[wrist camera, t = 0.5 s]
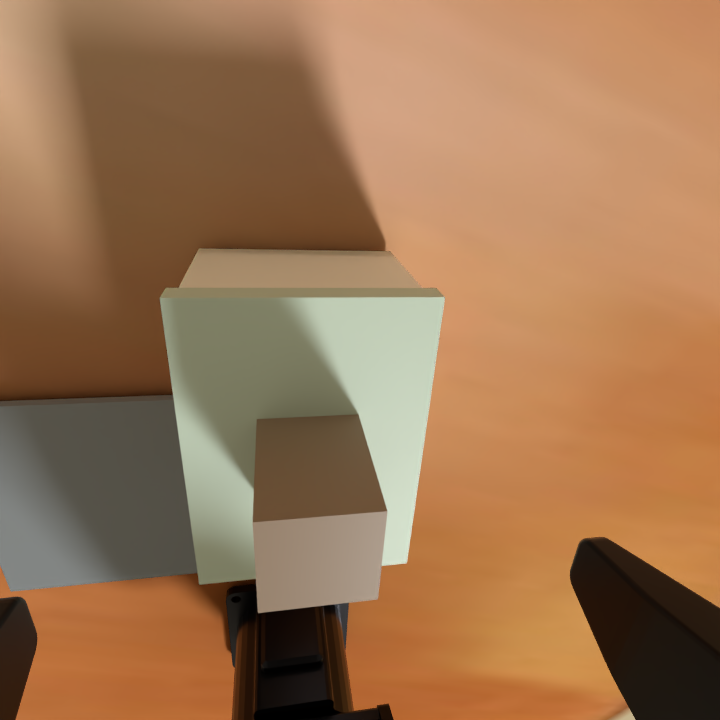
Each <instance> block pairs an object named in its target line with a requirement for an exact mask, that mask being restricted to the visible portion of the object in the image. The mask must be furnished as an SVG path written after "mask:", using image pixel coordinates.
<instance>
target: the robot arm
mask: <svg viewBox="0 0 720 720" xmlns="http://www.w3.org/2000/svg"><path fill="white" fill-rule="evenodd" d="M570 580H571V584H572V586H573V589H574V591H575V593H576V596H577V598H578V600H579V603H580V605H581V607H582V609H583V612H584V614H585V616H586V619H587V621H588V623H589V625H590V628H591V630H592V632H593V635H594V637H595V639H596V641H597V644H598V646H599V648H600V651H601V653H602V655H603V657H604V660H605V662H606V664H607V666H608V668H609V670H610V672H611V675H612V676H613V678H614V680H615V682H616V684H617V686H618V688H619V690H620V692H621V694H622V695H623V697H624V699H625V701H626V703H627V705H628V706H629V708H630V710H631V712H632V714H633V716H634V717H635V719H636V720H720V608H719V607H717V606H716V605H714V604H712V603H711V602H709V601H708V600H706V599H704V598H703V597H701V596H700V595H698V594H696V593H695V592H693V591H691V590H690V589H688V588H687V587H685V586H683V585H682V584H680V583H679V582H677V581H675V580H674V579H672V578H671V577H669V576H667V575H666V574H664V573H662V572H661V571H659V570H658V569H656V568H654V567H653V566H651V565H650V564H648V563H646V562H645V561H643V560H642V559H640V558H638V557H637V556H635V555H633V554H632V553H630V552H629V551H627V550H625V549H624V548H622V547H621V546H619V545H617V544H616V543H614V542H612V541H611V540H609V539H607V538H605V537H594V538H585V539H582V540H581V541H580V543H579V545H578V548H577V551H576V554H575V557H574V560H573V563H572V566H571V570H570ZM226 605H227V614H228V624H229V634H230V643H231V653H232V663H233V666H234V667H235V675H234V692H233V708H232V720H393V717H392V713H391V710H390V706H389V704H383V705H377V708H371V709H365V710H358V711H354V709H353V702H352V695H351V688H350V681H349V674H348V667H347V660H346V653H345V648H346V634H347V619H348V605H349V603H341V604H333V605H324V606H315V607H307V608H298V609H290V610H281V611H272V612H264V613H258V606H257V589H256V584H253V585H244V586H235V587H232V588H230V589H229V590H228V591H227V596H226ZM36 646H37V633H36V629H35V626H34V623H33V621H32V618H31V615H30V612H29V609H28V606H27V603H26V601H25V600H24V599H23V598H21V597H10V598H0V720H15V719H16V716H17V713H18V709H19V706H20V702H21V699H22V696H23V692H24V689H25V685H26V682H27V678H28V675H29V672H30V668H31V665H32V661H33V658H34V655H35V651H36Z"/></svg>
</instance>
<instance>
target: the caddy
mask: <svg viewBox="0 0 720 720" xmlns="http://www.w3.org/2000/svg"><path fill="white" fill-rule="evenodd" d="M179 288H422V287H421V285H420V284H419V283H418V282H417V281H416V280H415V279H414V278H413V276H412V275H411V274H410V273H409V272H408V271H407V270H406V269H405V267H404V266H403V265H402V264H401V263H400V262H399V261H398V260H397V258H396V257H395V256H394V255H393V254H392V253H391V252H390V251H338V250H271V249H205V248H199V249H198V251H197V253H196V255H195V257H194V259H193V261H192V263H191V265H190V266H189V268H188V270H187V272H186V274H185V276H184V278H183V280H182V282H181V284H180V286H179Z"/></svg>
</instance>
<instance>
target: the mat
mask: <svg viewBox="0 0 720 720" xmlns="http://www.w3.org/2000/svg"><path fill="white" fill-rule="evenodd" d="M0 566H1V568H2V571H3V573H4V576H5V578H6V581H7V583H8V586H9V588H10V591H21V590H31V589H41V588H51V587H62V586H72V585H82V584H92V583H102V582H112V581H122V580H132V579H142V578H152V577H162V576H172V575H183V574H193V573H198V572H197V565H196V558H195V550H194V543H193V536H192V529H191V522H190V514H189V507H188V500H187V493H186V485H185V478H184V471H183V464H182V456H181V449H180V442H179V435H178V427H177V420H176V413H175V406H174V398H173V395H155V396H127V397H99V398H72V399H44V400H16V401H0Z"/></svg>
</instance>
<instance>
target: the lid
mask: <svg viewBox="0 0 720 720" xmlns="http://www.w3.org/2000/svg"><path fill="white" fill-rule="evenodd" d="M444 301H445V297H444V296H443V295H442V294H441V293H440V292H439V291H438V289H437V288H165V290H164V291H163V293H162V295H161V296H160V304H161V312H162V319H163V326H164V333H165V341H166V348H167V355H168V362H169V370H170V377H171V384H172V391H173V398H174V406H175V413H176V420H177V427H178V435H179V442H180V449H181V456H182V464H183V471H184V478H185V485H186V493H187V500H188V507H189V514H190V522H191V529H192V536H193V543H194V550H195V558H196V565H197V572H198V579H199V585H201V584H211V583H220V582H230V581H240V580H249V579H256V589H257V606H258V613H264V612H272V611H281V610H290V609H298V608H307V607H315V606H324V605H333V604H341V603H350V602H359V601H367V600H376V599H378V593H379V584H380V575H381V566H385V565H395V564H404V563H407V558H408V551H409V544H410V538H411V531H412V524H413V517H414V510H415V503H416V496H417V489H418V482H419V475H420V468H421V461H422V454H423V447H424V440H425V433H426V426H427V419H428V412H429V405H430V398H431V391H432V384H433V377H434V370H435V363H436V356H437V349H438V343H439V336H440V329H441V322H442V315H443V308H444Z"/></svg>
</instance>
